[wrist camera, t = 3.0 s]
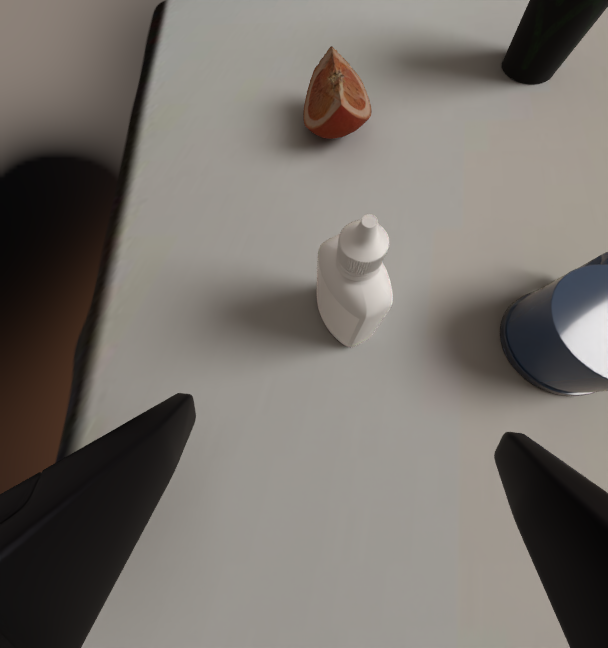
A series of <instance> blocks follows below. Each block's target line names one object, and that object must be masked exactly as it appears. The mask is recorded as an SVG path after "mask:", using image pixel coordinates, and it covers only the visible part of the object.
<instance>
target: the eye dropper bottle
mask: <svg viewBox="0 0 608 648" xmlns="http://www.w3.org/2000/svg"><path fill="white" fill-rule="evenodd" d="M388 249H389V238H388V234H387V233H386V231H385V230H384V228H383V227H382V226H380V225H379V224H378V220H377V218H376V217H375V216H374V215H371V214H367V215H365V216H363V217H362V219H361V220H357V221H354V222H351V223H349V224H348V225H346V226H345V227H344V228H343V230H342V231H341V232H340V234H339V235H337V236H335V237H332V238H330V239H328V240H327V241H325V242H324V243H323V244H321V246H320V248H319V251H318V261H317V304H318V309H319V312H320V315H321V318H322V320H323V322H324V324H325V325H326V327H327V328H328V330H329V331H330V332H331V334H332V335H333V336H334V337H335V338H336V339H337V340H338V341H340V342H341V343H342V344H343V345H345V346H347V347H350V348H351V347H355V346H357V345H359V344H361V343H363V342H364V341H366V340H368V339H369V338H370V337H371V336H372V334H373V333H374V331H375V330H376V329H377V327H378V326H379V324H380V323H381V321H382V320H383V319H384V317H385V316H386V314H387V313H388V311H389V309H390V308H391V306H392V302H393V293H392V287H391V282H390V279H389V276H388V273H387V271H386V268H385V266H384V264H383V260H384V258H385V256H386V254H387V251H388Z"/></svg>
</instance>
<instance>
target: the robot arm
mask: <svg viewBox="0 0 608 648" xmlns="http://www.w3.org/2000/svg"><path fill="white" fill-rule="evenodd" d="M195 419H196V413H195V407H194V400H193V397H192V395H190V394H183V393H178V394H175V395H174V396H172V397H170V398H168V399H167V400H165V401H163V402H161V403H160V404H158V405H156V406H154V407H153V408H151V409H149V410H147V411H146V412H144V413H142V414H140V415H139V416H137V417H135V418H133V419H132V420H130V421H128V422H126V423H125V424H123V425H121V426H120V427H118V428H116V429H114V430H113V431H111V432H109V433H107V434H106V435H104V436H102V437H100V438H99V439H97V440H95V441H93V442H92V443H90V444H88V445H86V446H85V447H83V448H81V449H79V450H78V451H76V452H74V453H72V454H71V455H69V456H67V457H65V458H64V459H62V460H60V461H58V462H57V463H55V464H53V465H51V466H50V467H48V468H46V469H44V470H43V471H42V473H37V474H36V475H34V476H32V477H30V478H29V479H27V480H25V481H23V482H22V483H20V484H18V485H16V486H14V487H13V488H11V489H9V490H7V491H5V492H4V493H2V494H0V648H81V647H82V645H83V643H84V641H85V639H86V637H87V635H88V634H89V632H90V630H91V628H92V626H93V624H94V622H95V620H96V619H97V617H98V615H99V613H100V611H101V609H102V607H103V605H104V603H105V602H106V600H107V598H108V596H109V594H110V592H111V590H112V588H113V587H114V585H115V583H116V581H117V579H118V577H119V575H120V573H121V572H122V570H123V568H124V566H125V564H126V562H127V560H128V558H129V556H130V555H131V553H132V551H133V549H134V547H135V545H136V543H137V541H138V540H139V538H140V536H141V534H142V532H143V530H144V528H145V526H146V524H147V523H148V521H149V519H150V517H151V515H152V513H153V511H154V509H155V508H156V506H157V504H158V502H159V500H160V498H161V496H162V494H163V493H164V491H165V489H166V487H167V485H168V483H169V481H170V479H171V477H172V475H173V473H174V471H175V469H176V467H177V464H178V462H179V460H180V457H181V455H182V452H183V450H184V447H185V445H186V443H187V440H188V438H189V435H190V433H191V430H192V428H193V425H194V423H195ZM494 458H495V463H496V466H497V469H498V472H499V475H500V478H501V481H502V484H503V487H504V490H505V493H506V496H507V499H508V502H509V505H510V508H511V511H512V514H513V516H514V519H515V522H516V524H517V527H518V529H519V531H520V534H521V536H522V538H523V541H524V543H525V545H526V547H527V550H528V552H529V554H530V557H531V559H532V561H533V564H534V566H535V568H536V570H537V573H538V575H539V577H540V580H541V582H542V584H543V586H544V589H545V591H546V593H547V596H548V598H549V600H550V603H551V605H552V607H553V609H554V612H555V614H556V616H557V619H558V621H559V623H560V625H561V628H562V630H563V632H564V635H565V637H566V639H567V642H568V644H569V646H570V648H608V493H607V492H606V491H604V490H603V489H601V488H600V487H598V486H597V485H596V484H594V483H593V482H591V481H590V480H588V479H587V478H586V477H584V476H583V475H581V474H580V473H578V472H577V471H576V470H574V469H573V468H571V467H570V466H569V465H567V464H566V463H564V462H563V461H561V460H560V459H559V458H557V457H556V456H554V455H553V454H551V453H550V452H549V451H547V450H546V449H544V448H543V447H542V446H540V445H539V444H537V443H536V442H534V441H533V440H532V439H530V438H529V437H527V436H526V435H524V434H521V433H514V432H506V433H505V434H504V435H503V436H502V438H501V440H500V443H499V445H498V447H497V449H496V451H495V455H494Z"/></svg>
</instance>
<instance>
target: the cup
mask: <svg viewBox="0 0 608 648" xmlns="http://www.w3.org/2000/svg"><path fill="white" fill-rule="evenodd" d="M607 7H608V0H530V1H529V3H528V6H527V8H526V10H525V12H524V15H523V17H522V19H521V21H520V24H519V26H518V28H517V30H516V33H515V35H514V37H513V39H512V42H511V44H510V46H509V48H508V51H507V53H506V55H505V57H504V60H503V62H502V68H503V70H504V72H505V73H506V74H507V75H508V76H509V77H510V78H512V79H514V80H515V81H518V82H521V83H526V84H539V83H543V82H546V81H547V80H549V79H550V78H551V77H552V76H553V74H554V73H555V72H556V71H557V69H558V68H559V67H560V66H561V64H562V63H563V62H564V61H565V59H566V58H567V57H568V56H569V54H570V53H571V52H572V51H573V49H574V48H575V47H576V46H577V44H578V43H579V42H580V41H581V39H582V38H583V37H584V36H585V34H586V33H587V32H588V31H589V29H590V28H591V27H592V26H593V24H594V23H595V22H596V21H597V19H598V18H599V17H600V16H601V14H602V13H603V12H604V11H605V9H606V8H607Z"/></svg>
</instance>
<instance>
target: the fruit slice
mask: <svg viewBox="0 0 608 648" xmlns="http://www.w3.org/2000/svg"><path fill="white" fill-rule="evenodd" d="M370 116H371V105H370V101H369V98H368V95H367V93H366V90H365V87H364V85H363V83H362V81H361V79H360V78H359V76H358V75H357V73H356V72H355V71H354V70H353V69H352V68H351V66H350V65H349V63H348V62H347V61H346V60H345V59H344V58H343V57H342V56H341V55H340V54H338V52H337V50H335V49H334V48H333V47H332V46H331V47H330V48H329V50H328V51H327V53H326V54H325V55H324V57H323V58H322V59H321V60H320V62H319V64H318V65H317V66H316V68H315V69H314V72H313V75H312V78H311V80H310V84H309V88H308V91H307V95H306V100H305V105H304V124H305V126H306V127H307V128H308V129H309V130H310V131H311V132H313V133H314V134H315V135H317V136H320V137H322V138H329V139H333V138H339V137H343V136H345V135H348V134H350V133H352V132H354V131H356V130H357V129H358V128H359V127H361V126H362V125H363V124H364V123H365V122H366V121H367V120H368V119H369V118H370Z"/></svg>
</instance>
